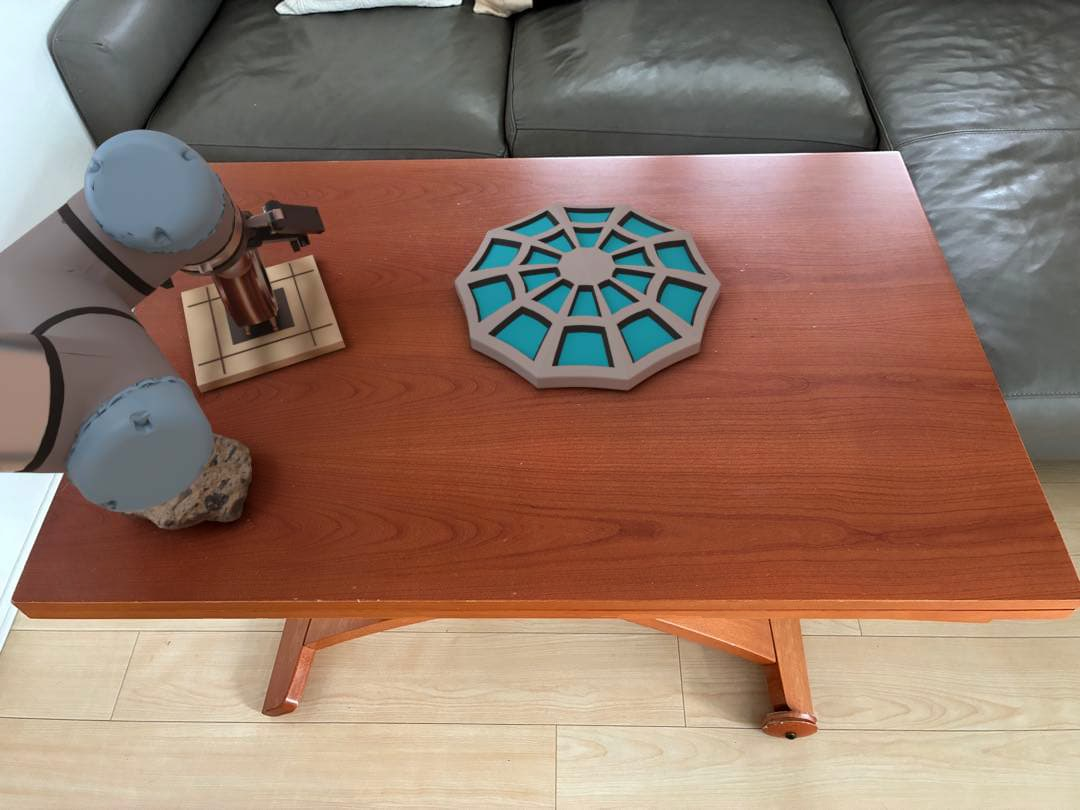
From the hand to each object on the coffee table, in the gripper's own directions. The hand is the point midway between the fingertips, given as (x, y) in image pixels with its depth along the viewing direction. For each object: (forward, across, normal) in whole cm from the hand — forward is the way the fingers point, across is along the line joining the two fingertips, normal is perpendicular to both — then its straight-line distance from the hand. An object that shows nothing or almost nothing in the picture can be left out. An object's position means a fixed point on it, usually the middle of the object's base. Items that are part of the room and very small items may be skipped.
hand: (231, 257), depth 83 cm
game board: (+6, 0, -7) cm, 9 cm away
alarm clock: (+5, 0, -6) cm, 8 cm away
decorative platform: (-2, +36, -16) cm, 40 cm away
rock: (-9, -10, -22) cm, 26 cm away
